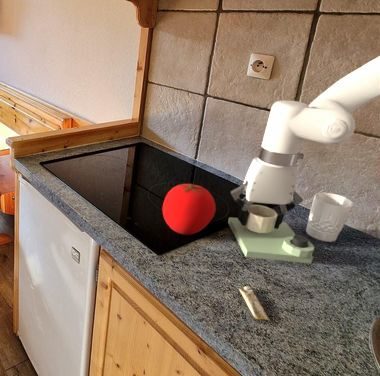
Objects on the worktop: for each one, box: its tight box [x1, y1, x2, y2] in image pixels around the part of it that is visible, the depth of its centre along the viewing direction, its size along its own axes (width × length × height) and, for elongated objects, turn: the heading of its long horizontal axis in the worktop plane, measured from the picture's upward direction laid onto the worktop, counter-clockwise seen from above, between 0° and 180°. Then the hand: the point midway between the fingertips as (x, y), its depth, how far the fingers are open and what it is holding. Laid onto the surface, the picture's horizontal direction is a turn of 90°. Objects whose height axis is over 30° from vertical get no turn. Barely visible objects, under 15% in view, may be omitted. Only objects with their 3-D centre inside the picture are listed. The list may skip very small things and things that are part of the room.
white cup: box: [305, 192, 354, 243], centre depth 100 cm, size 8×8×10 cm
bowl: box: [245, 204, 278, 233], centre depth 99 cm, size 7×7×4 cm
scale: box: [227, 216, 315, 264], centre depth 98 cm, size 14×16×4 cm
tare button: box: [291, 234, 310, 248], centre depth 91 cm, size 3×3×2 cm
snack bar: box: [236, 285, 271, 323], centre depth 77 cm, size 10×2×3 cm
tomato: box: [162, 182, 217, 236], centre depth 100 cm, size 12×12×13 cm
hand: (258, 224), depth 99 cm, fingers closed on bowl, 6 cm apart
